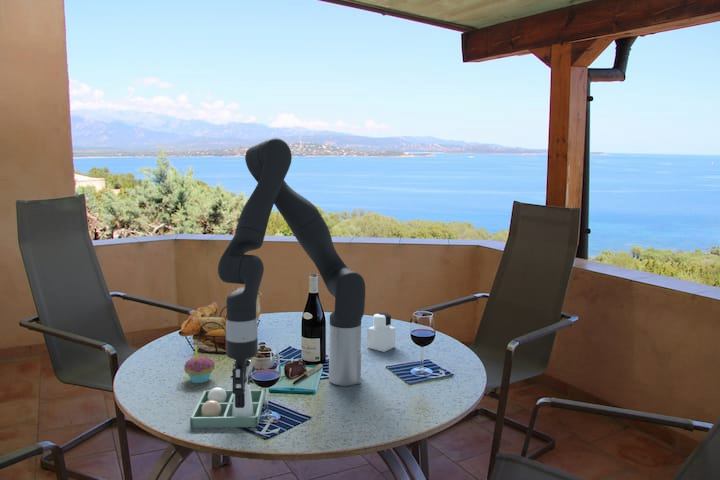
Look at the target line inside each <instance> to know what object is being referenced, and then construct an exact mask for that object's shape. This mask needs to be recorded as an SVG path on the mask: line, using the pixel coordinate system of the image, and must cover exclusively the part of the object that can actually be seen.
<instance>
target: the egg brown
mask: <svg viewBox="0 0 720 480" xmlns="http://www.w3.org/2000/svg"><path fill="white" fill-rule="evenodd" d="M201 414H202V416H203V417H219V416H220V414H221V405H220V404H219V403H218V402H217V401H215V400H209V401H207V402H205V403H204V404H203V406H202V408H201Z"/></svg>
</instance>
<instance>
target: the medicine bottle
mask: <svg viewBox="0 0 720 480" xmlns="http://www.w3.org/2000/svg"><path fill="white" fill-rule="evenodd" d="M372 319H373V321H372V323H373V325H372V326H370V327H369V328H367V349H371V350H375V351H379V352H383V353H385V352H388V351H389V350H391V349H393V348H396V331H397V328H396V327H395V326H392V325H391V323H392V316H391V314H389V313H387V312H377V313H374V314H373V317H372Z"/></svg>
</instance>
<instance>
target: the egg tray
mask: <svg viewBox="0 0 720 480" xmlns="http://www.w3.org/2000/svg"><path fill="white" fill-rule="evenodd" d="M210 390H211V389H208V390H207V389H206V390H203V392H202V394H201V397H200V398H199V400H198V403H197V404H196V406H195V408H194V410H193V412H192V415H191V416H190V418H189V420H190V429H204V428H205V429H207V428H209V429H210V428H211V429H212V428H214V429H215V428H216V429H218V428H258V427H259V423H260V419H261V415H262V410H263V407H264V402H265V389H251V396H252V404H253V413H254V416H238V417H232V410H233V399H234V394H233V392H232V390H233V389H224V390H225V392H226V394H227V398H226V401H225V402H224V403H219V404H220V405H221V414H220V416H219V417H203V416H202V414H201V408H202V406H203V404H204V403H205V402H207V401H208V393H209V392H210Z"/></svg>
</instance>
